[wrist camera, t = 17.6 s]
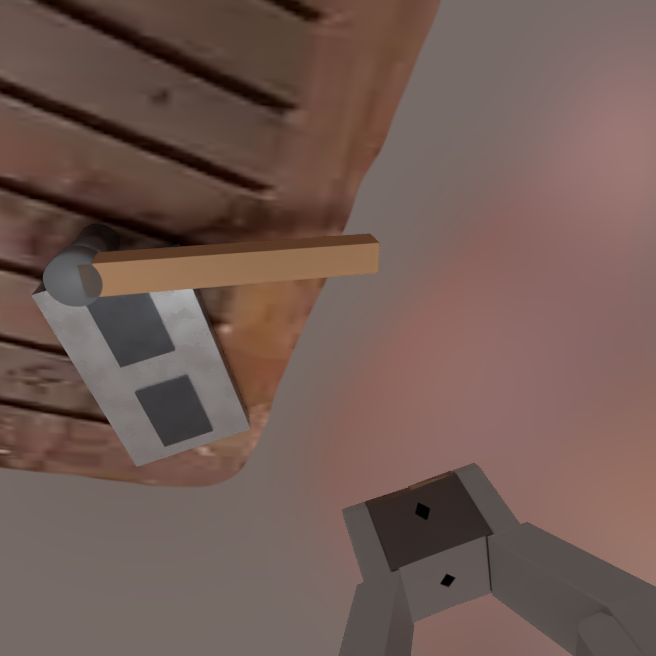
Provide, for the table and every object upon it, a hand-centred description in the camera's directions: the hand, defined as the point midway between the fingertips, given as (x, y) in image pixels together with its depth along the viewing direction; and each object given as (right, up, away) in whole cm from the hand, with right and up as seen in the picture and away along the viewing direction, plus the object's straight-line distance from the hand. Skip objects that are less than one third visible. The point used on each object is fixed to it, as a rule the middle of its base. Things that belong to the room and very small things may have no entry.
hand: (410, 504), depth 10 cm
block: (-19, +2, +35) cm, 39 cm away
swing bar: (-10, +9, +26) cm, 29 cm away
